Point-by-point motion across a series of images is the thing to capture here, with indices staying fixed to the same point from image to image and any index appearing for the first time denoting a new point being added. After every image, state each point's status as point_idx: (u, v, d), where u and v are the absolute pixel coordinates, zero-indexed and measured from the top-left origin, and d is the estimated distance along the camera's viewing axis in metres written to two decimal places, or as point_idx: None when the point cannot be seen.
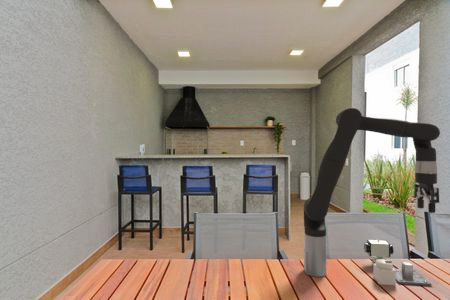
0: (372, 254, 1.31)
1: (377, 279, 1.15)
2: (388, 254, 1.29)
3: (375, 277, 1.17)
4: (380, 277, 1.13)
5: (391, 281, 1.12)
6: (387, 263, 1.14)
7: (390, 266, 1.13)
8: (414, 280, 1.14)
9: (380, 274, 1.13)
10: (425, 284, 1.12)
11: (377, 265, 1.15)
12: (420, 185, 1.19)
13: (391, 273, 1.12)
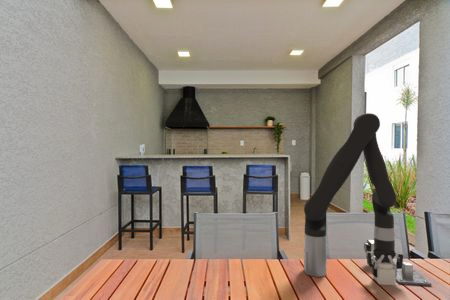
0: None
1: (377, 279, 1.15)
2: None
3: None
4: (380, 277, 1.13)
5: (391, 281, 1.12)
6: (387, 263, 1.14)
7: (390, 266, 1.13)
8: (414, 280, 1.14)
9: (380, 274, 1.13)
10: (425, 284, 1.12)
11: None
12: (380, 252, 1.15)
13: (391, 273, 1.12)
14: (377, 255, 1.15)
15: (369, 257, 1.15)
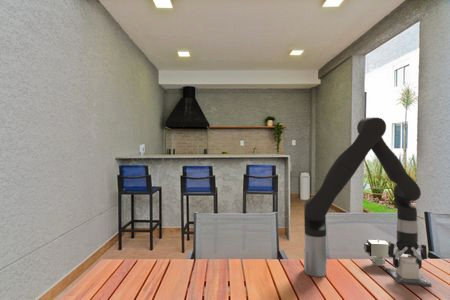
0: (372, 254, 1.31)
1: (400, 273, 1.18)
2: None
3: (398, 271, 1.20)
4: (403, 271, 1.16)
5: (414, 275, 1.15)
6: (410, 258, 1.17)
7: (413, 260, 1.16)
8: (414, 280, 1.14)
9: (404, 268, 1.16)
10: (425, 284, 1.12)
11: (400, 260, 1.18)
12: (403, 244, 1.18)
13: (414, 267, 1.15)
14: (400, 246, 1.18)
15: (392, 248, 1.19)
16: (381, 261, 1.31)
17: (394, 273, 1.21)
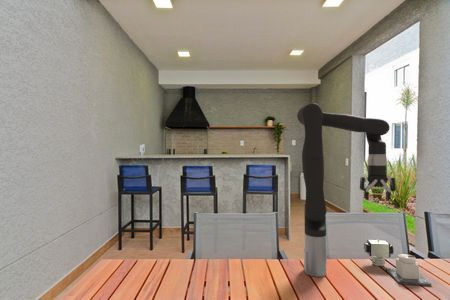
0: (372, 254, 1.31)
1: (400, 273, 1.18)
2: (388, 254, 1.29)
3: (398, 271, 1.20)
4: (403, 271, 1.16)
5: (414, 275, 1.15)
6: (410, 258, 1.17)
7: (413, 260, 1.16)
8: (414, 280, 1.14)
9: (404, 268, 1.16)
10: (425, 284, 1.12)
11: (400, 260, 1.18)
12: (373, 177, 1.25)
13: (414, 267, 1.15)
14: (371, 180, 1.25)
15: (363, 181, 1.25)
16: (381, 261, 1.31)
17: (394, 273, 1.21)
